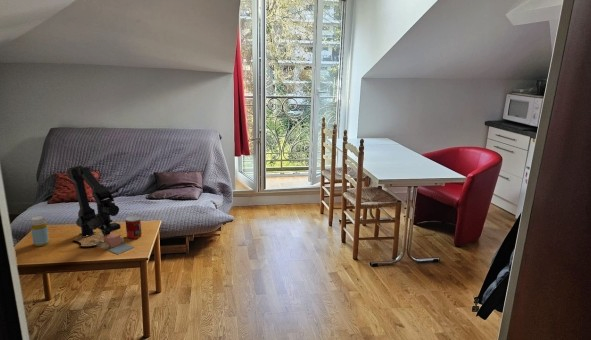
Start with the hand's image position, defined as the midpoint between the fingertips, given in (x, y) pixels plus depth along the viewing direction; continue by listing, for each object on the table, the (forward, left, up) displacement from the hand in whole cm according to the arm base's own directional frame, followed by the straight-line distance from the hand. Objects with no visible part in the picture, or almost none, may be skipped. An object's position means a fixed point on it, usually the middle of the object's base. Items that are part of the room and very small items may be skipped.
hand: (106, 238), depth 221 cm
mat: (+12, 0, -3) cm, 12 cm away
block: (+5, 0, -3) cm, 6 cm away
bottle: (-28, -20, -3) cm, 34 cm away
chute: (+1, 0, -3) cm, 3 cm away
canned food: (+4, +14, -3) cm, 15 cm away
